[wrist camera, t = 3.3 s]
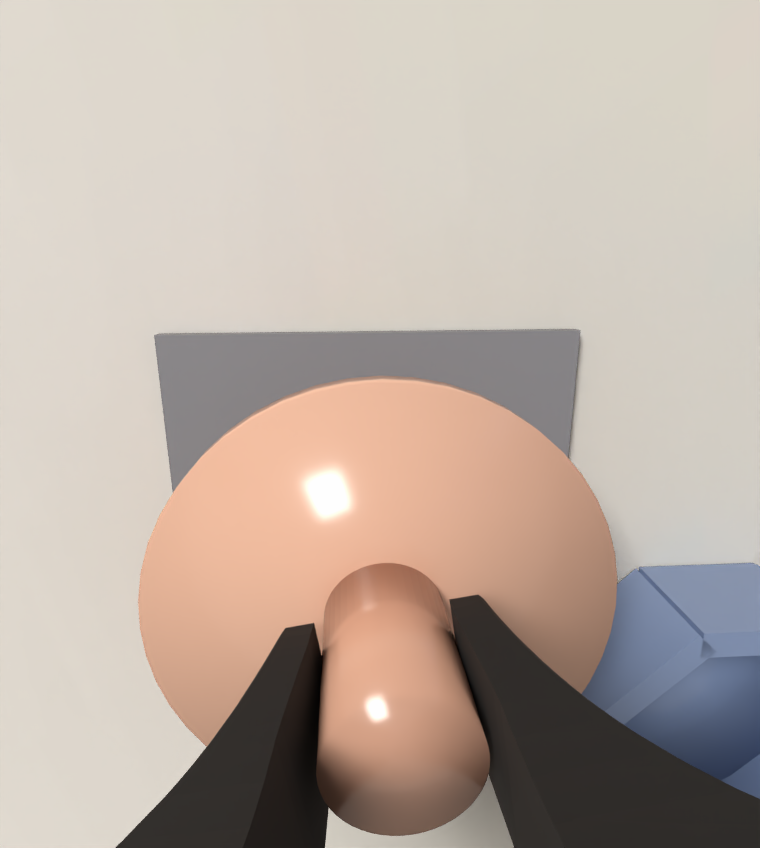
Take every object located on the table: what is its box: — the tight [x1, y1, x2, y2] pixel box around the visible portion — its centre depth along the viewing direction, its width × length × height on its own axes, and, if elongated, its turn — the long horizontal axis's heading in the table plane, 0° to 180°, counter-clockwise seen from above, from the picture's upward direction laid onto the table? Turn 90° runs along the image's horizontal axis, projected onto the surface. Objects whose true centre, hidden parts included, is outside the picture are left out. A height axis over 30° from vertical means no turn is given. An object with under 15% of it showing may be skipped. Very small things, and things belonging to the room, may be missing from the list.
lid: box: [138, 376, 617, 836], centre depth 11 cm, size 11×11×5 cm
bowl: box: [582, 563, 760, 799], centre depth 18 cm, size 10×10×4 cm
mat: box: [154, 329, 580, 492], centre depth 17 cm, size 12×12×1 cm
